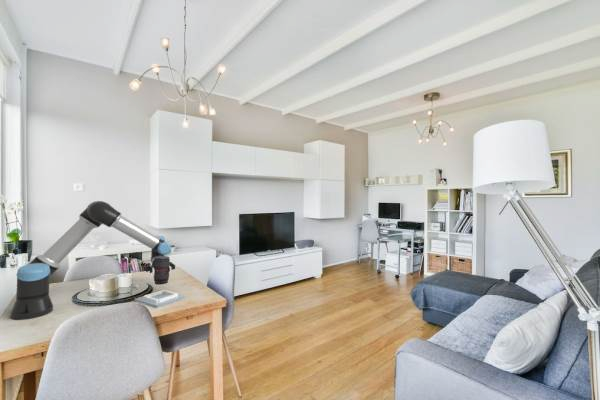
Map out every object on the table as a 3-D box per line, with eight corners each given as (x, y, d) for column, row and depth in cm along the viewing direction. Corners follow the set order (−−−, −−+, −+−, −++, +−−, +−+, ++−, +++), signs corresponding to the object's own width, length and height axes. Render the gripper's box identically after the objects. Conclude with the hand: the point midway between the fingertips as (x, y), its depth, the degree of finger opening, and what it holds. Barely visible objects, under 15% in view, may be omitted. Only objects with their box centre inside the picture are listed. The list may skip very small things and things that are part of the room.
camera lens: (163, 285, 157) (163, 259, 157) (150, 284, 159) (150, 258, 159) (172, 281, 165) (172, 256, 165) (160, 280, 167) (160, 255, 167)
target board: (134, 300, 159) (134, 296, 159) (163, 292, 174) (163, 287, 174) (157, 308, 149) (157, 302, 149) (185, 298, 165) (185, 293, 165)
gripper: (176, 267, 183) (181, 275, 163) (139, 270, 172) (140, 280, 152) (176, 255, 183) (182, 262, 163) (140, 258, 172) (141, 266, 152)
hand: (162, 271), depth 158 cm, fingers closed on camera lens, 8 cm apart
